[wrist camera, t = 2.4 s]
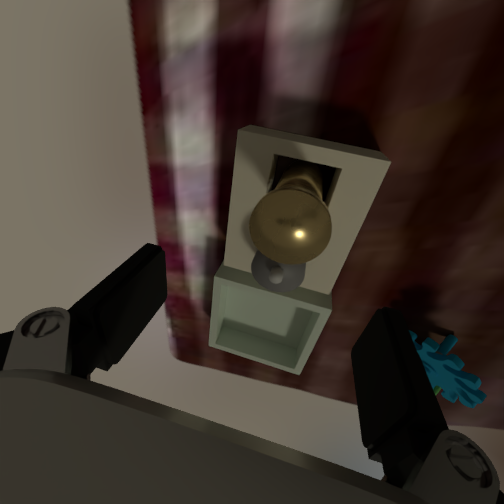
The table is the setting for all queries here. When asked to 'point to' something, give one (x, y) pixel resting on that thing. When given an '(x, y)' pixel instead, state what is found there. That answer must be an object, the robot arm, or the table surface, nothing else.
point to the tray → (265, 320)
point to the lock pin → (292, 217)
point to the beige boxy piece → (337, 201)
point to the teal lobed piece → (448, 372)
